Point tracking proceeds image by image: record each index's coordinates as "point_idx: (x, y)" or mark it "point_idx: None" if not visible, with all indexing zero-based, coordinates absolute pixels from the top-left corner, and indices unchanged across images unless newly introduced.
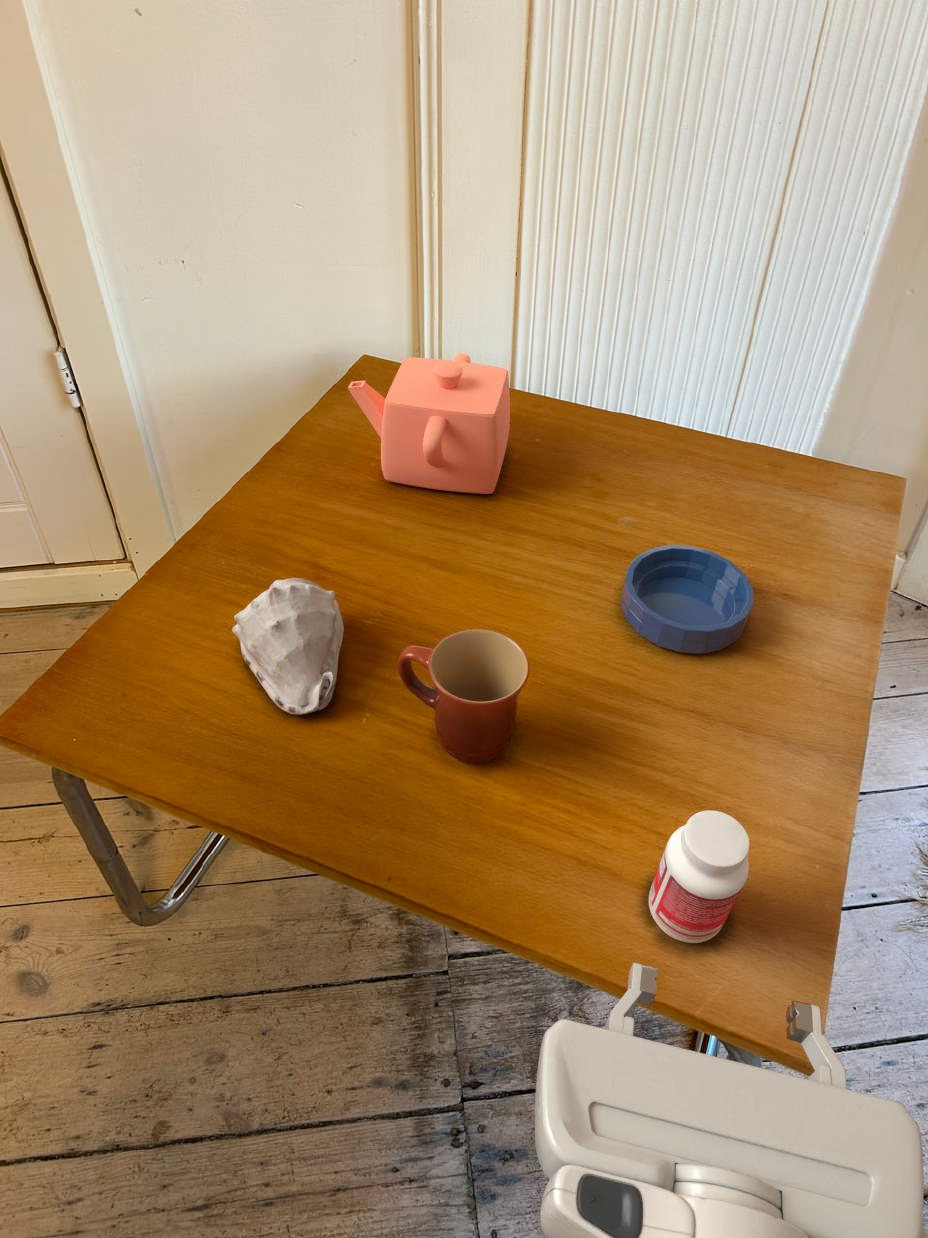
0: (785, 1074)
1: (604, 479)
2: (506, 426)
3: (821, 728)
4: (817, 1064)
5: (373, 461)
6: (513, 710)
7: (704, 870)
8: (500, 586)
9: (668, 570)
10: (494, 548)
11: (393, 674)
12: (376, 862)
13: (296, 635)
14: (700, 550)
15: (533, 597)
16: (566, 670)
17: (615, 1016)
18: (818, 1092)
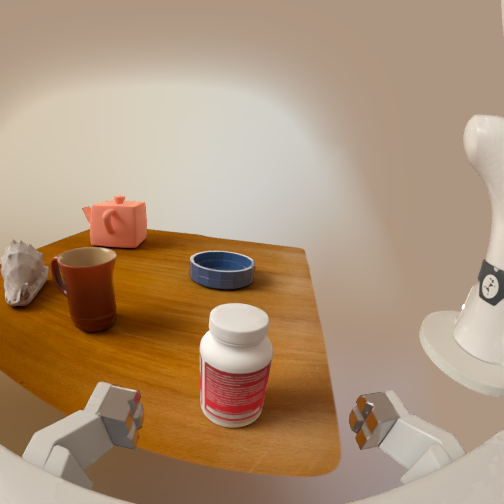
0: (400, 487)
1: (186, 246)
2: (143, 222)
3: (300, 311)
4: (410, 455)
5: (90, 242)
6: (107, 289)
7: (231, 342)
8: (129, 271)
9: (213, 263)
10: (131, 261)
11: (63, 297)
12: (18, 373)
13: (16, 261)
14: (227, 252)
15: (145, 274)
16: (156, 297)
17: (38, 440)
18: (455, 476)
